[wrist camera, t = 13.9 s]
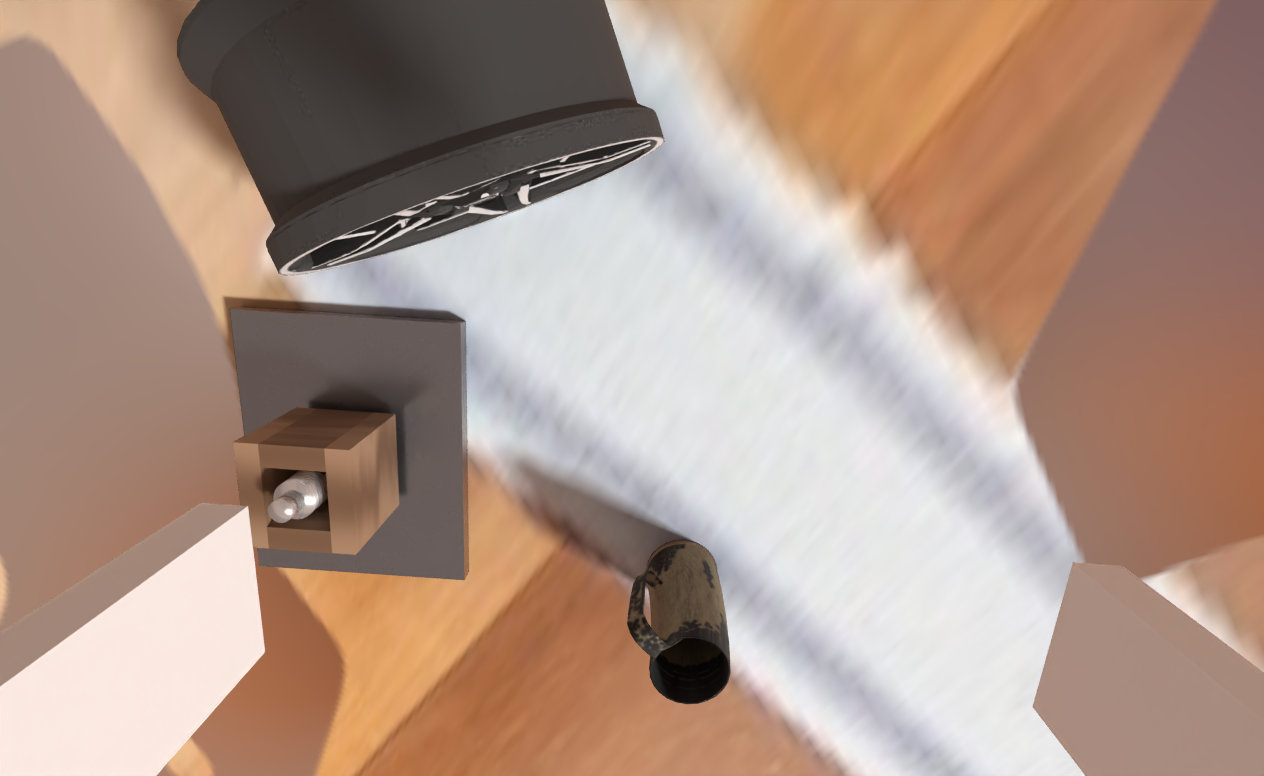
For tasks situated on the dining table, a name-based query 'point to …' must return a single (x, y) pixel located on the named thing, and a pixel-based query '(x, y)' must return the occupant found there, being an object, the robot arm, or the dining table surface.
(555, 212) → the dining table surface
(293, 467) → the hollow wooden cube
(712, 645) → the mug
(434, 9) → the wheel rim
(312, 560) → the shaft stand
